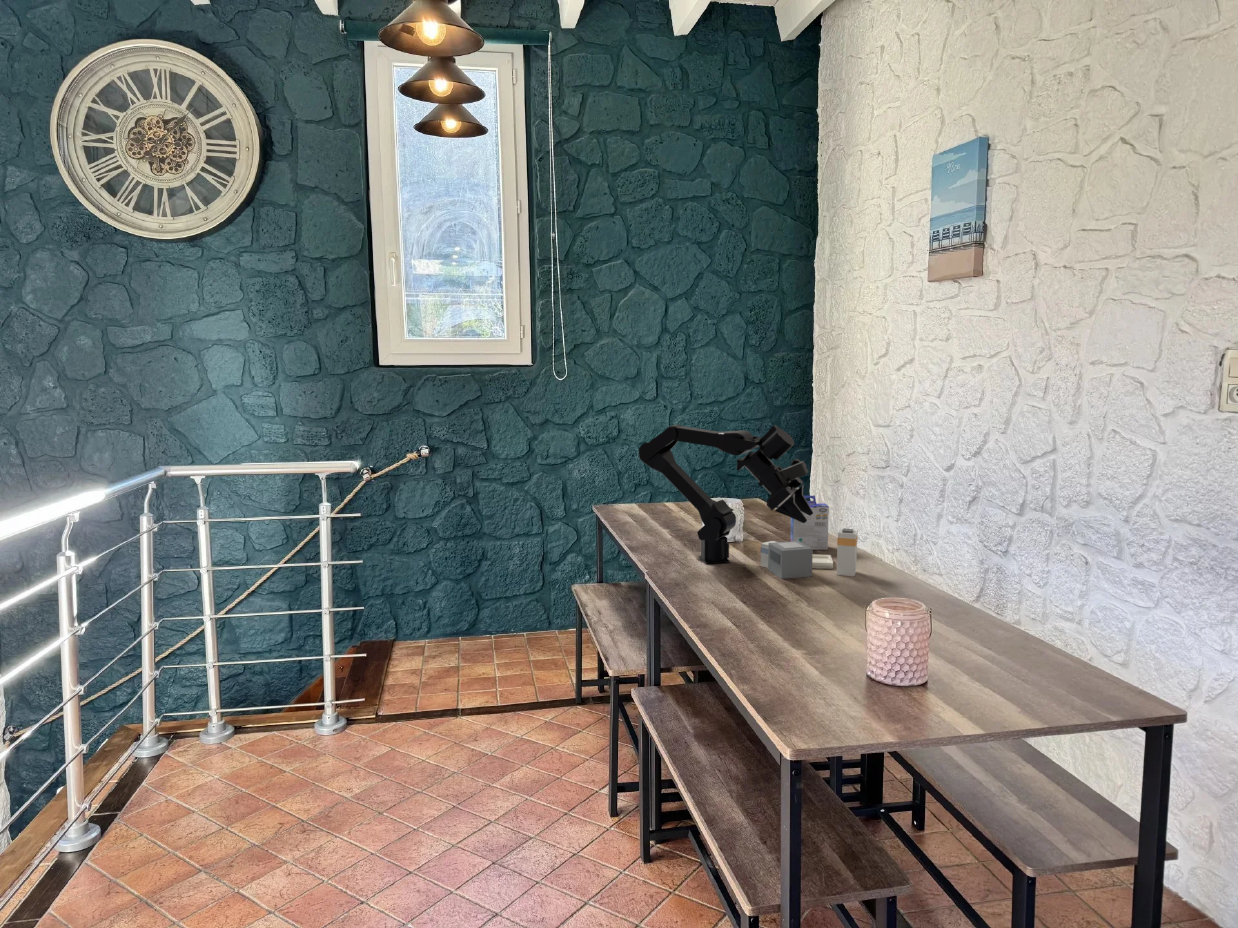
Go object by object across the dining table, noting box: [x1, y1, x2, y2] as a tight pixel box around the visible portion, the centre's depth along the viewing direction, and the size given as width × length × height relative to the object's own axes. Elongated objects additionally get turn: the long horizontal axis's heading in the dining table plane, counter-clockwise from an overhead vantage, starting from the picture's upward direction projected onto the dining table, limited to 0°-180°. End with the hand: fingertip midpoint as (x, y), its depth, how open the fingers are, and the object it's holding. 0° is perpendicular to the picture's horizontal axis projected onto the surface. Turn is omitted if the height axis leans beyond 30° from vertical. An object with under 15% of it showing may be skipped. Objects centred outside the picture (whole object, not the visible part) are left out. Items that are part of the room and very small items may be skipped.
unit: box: [767, 540, 813, 580], centre depth 201 cm, size 8×8×7 cm
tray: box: [812, 554, 834, 570], centre depth 210 cm, size 8×8×2 cm
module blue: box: [760, 540, 777, 569], centre depth 208 cm, size 4×4×6 cm
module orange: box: [836, 528, 859, 577], centre depth 201 cm, size 4×4×11 cm
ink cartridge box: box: [790, 495, 830, 550], centre depth 226 cm, size 10×6×14 cm, turn 89°
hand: (808, 518), depth 201 cm, fingers open, 9 cm apart
